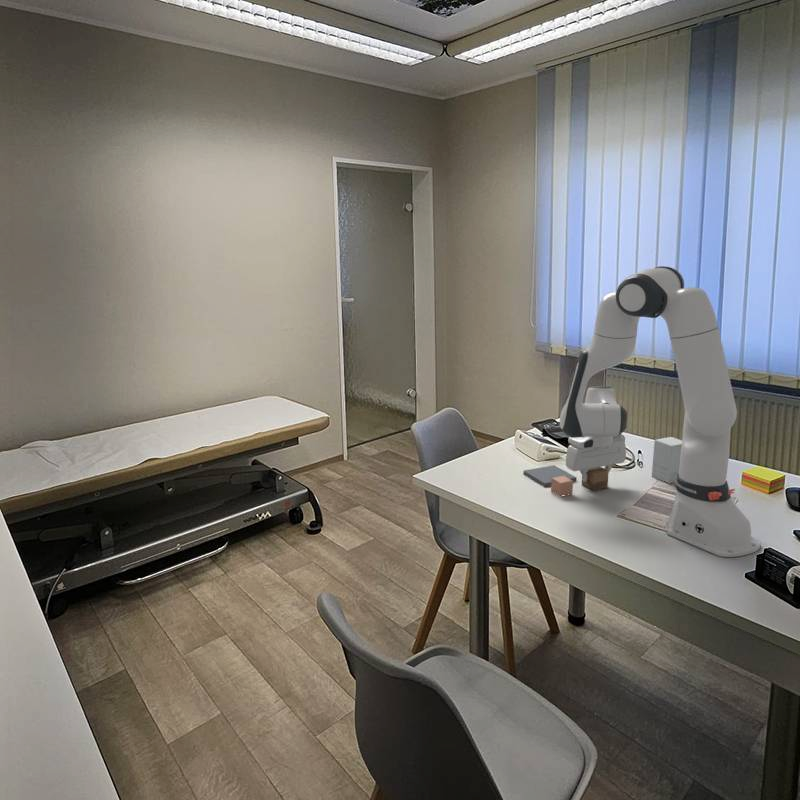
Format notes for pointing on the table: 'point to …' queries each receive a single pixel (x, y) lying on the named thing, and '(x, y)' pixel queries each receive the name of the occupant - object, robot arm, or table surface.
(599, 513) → the table surface
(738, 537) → the robot arm
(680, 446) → the supplement box
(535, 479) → the board
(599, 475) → the walnut block
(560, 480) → the terracotta block
